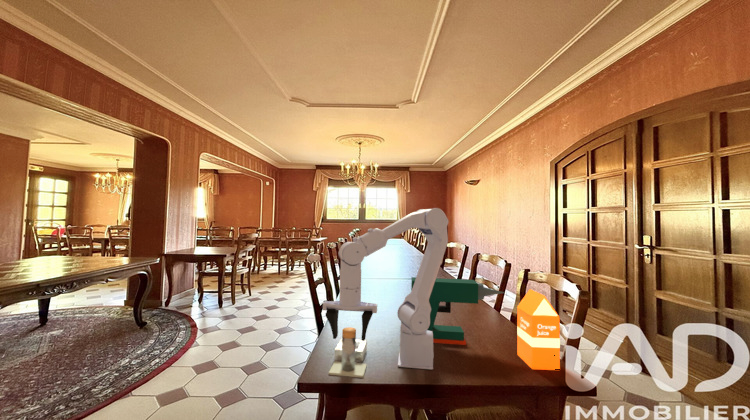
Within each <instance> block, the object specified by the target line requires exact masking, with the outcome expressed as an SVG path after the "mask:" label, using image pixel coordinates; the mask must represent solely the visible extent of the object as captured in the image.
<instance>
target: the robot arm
mask: <svg viewBox="0 0 750 420" xmlns="http://www.w3.org/2000/svg"><path fill="white" fill-rule="evenodd" d="M448 224H449V219H448V217H447V215H446V213H445V212H444V211H443V210H442V209H441V208H439V207H433V208H425V209H424V208H421V209H418V210H416V211H413V212H411V213H409V214H407V215H405V216H404V217H402V218H400V219H398V220H395V222H393V223H391V224H390V225H388V226H386V227H384V228H383V229H380V228H378V227H376V228H368V229H367V231H366V233H363V234H362V235H360V236H358V237H357V236H355V237H352V241H346V242H344V243H343V244H341V247H339V250H338V253H337V254H338V258H339V259H340V268H339V269H340V270H339V300H331V301H330V300H329V301H328V300H325V301H324V302H322V311H326V312H325V317H326V319H327V321H328V323H329V326H330V329H331V333H332V338H333V339H334V340H336V339H337V338H338V335H339V324H338V323H339V322H338V321H339V311H341V312H342V311H344V312H346V311H347V312H362V315H361V325H362V327H361V329H362V331H361V340H362V341H364V340H366V337H367V336H366V335H367V332H368V331H367V330H368V327H369V324H370V321H371V319H372V317H373V314H377V312H378V303H371V302H366V301H362V298H361V297H362V262H363V261H364V259H365V258H366V257H368V256H370V255H372V254H374V253H375V252H377V251H380V250H381V249H383V248H385V247H386V246H387V244H388V241H389V240H390V239H392V238H394V237H397V236H398V235H401V234H402V233H404V232H406V231H409V230H410V229H417V230H418V231H420V233H422V234H423V236H424V237H425V239H426V241H427V245H426V249H425V251H424V254H423V257H422V260H421V262H420V265H419V268H418V271H417V275H416V276H415V277H416V280H415V282H414V285H413V288H412V291H411V292H409V294H407V295H406V296H405V298H404V300H403V302H402V303H401V304H400V306H399V307H398V308H397V312H396V313H397V317H398V320H399V321H400V326H399V328H400V329H399V330H400V331H399V333H400V334H399V339H400V340H399V341H400V342H399V352H398V360H397V367H400V368H406V369H407V368H409V369H411V368H412V369H421V370H434V358H435V357H434V356H435V354H434V343H433V332H432V331H429V330H427V329H428V328H429V325H430V312H431V306H430V303H429V298H430V295H431V292H432V289H433V286H434V283H435V280H436V278H437V276H438V273H439V270H440V267H441V264H442V261H443V258H444V255H445V253H446V249H447V246H448V243H449V239H448V238H449V237H448Z"/></svg>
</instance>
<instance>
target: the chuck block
mask: <svg viewBox="0 0 750 420" xmlns="http://www.w3.org/2000/svg"><path fill="white" fill-rule="evenodd" d="M367 345H368V341H367V339H365V340H364V341H362V339H358V338H356V351H355V363H361V364H363V362H364V359H365V356H366V352H367V348H368V347H367ZM334 361H337V362H342V338H340V340H339V342H338V343H337V345H336V347H335V348H334Z"/></svg>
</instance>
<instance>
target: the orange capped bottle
mask: <svg viewBox="0 0 750 420" xmlns="http://www.w3.org/2000/svg"><path fill="white" fill-rule="evenodd" d="M341 333H342V335H341V337H342V361H341V362H342V370H343V371H346V372H350V371H353V370H354V369H355V363H356V362H355V351H356V339H357V329H356V328H355V327H344V328H343V329H342V332H341Z"/></svg>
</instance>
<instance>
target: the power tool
mask: <svg viewBox="0 0 750 420" xmlns="http://www.w3.org/2000/svg"><path fill="white" fill-rule="evenodd" d="M416 277H417V276H415V277H413V276H411V288H410V289H411V291H412V288H413V285H414V282H415V280H416ZM505 293H506V292H504V291H501V290H500V291H499V290H496V289H493V288H489V287H485V286H484V284H483V283H479V282H477V281H476V280H474V279H465V278H464V279H462V278H441V277H440V278H437V277H436V280H435V283H434V286H433V289H432V292H431V295H430V298H429V303H430V306H431V312H430V325H429V328H428V329H427V330H429V331H432V332H433V344H447V345H448V344H449V345H463V346H467V340H466V339H465V331H464V330H463V328H462V326H460V325H459V326H458V325H457V326H456V325H445V324H444V325H441V324H435V322H436V320H437V319H436V318H437V314H438V313H444V314H445V313H446V314H448V313H449V314H450V313H451V311H452V308H451V307H452V306H451V305H452V303H453V304H454V303H457V304H458V303H459V304H475V305H476V304H479V300H481V301H483V300H484V299H485V297H487V296H488V297H489V296H494V295H499V294H505ZM440 303H445V305H440Z"/></svg>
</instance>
